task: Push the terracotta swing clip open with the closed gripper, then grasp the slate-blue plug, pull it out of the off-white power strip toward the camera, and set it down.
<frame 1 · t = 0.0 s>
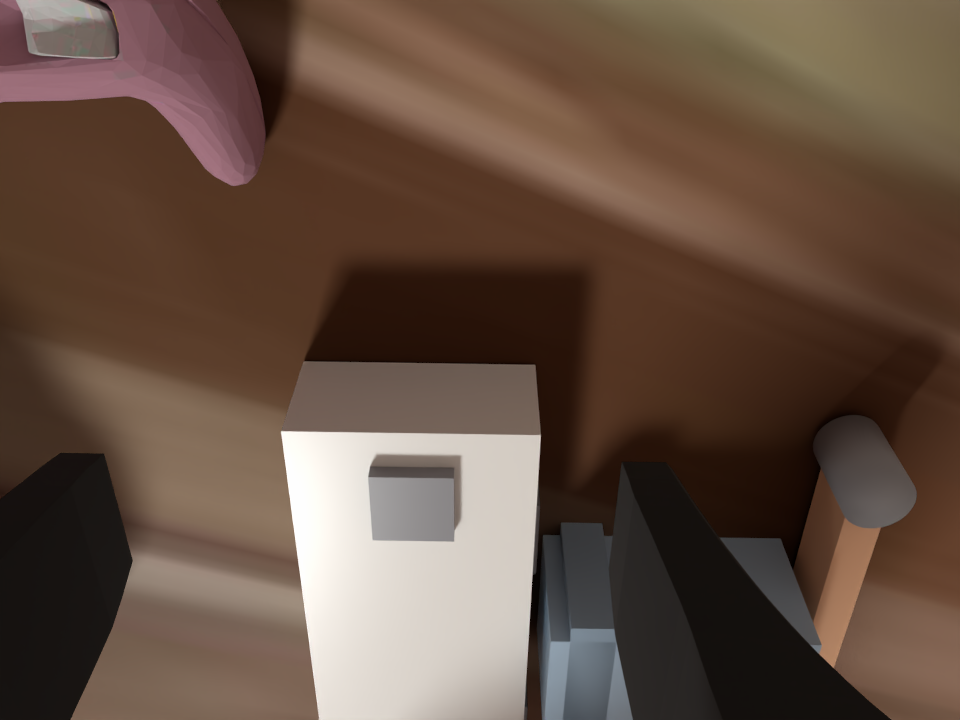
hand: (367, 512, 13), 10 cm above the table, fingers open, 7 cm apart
plug: (653, 583, 28), on the table
retention clip: (820, 606, 26), point 1 cm above the table, hinge at 0.0°
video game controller: (39, 37, 19), on the table
power strip: (425, 582, 28), on the table
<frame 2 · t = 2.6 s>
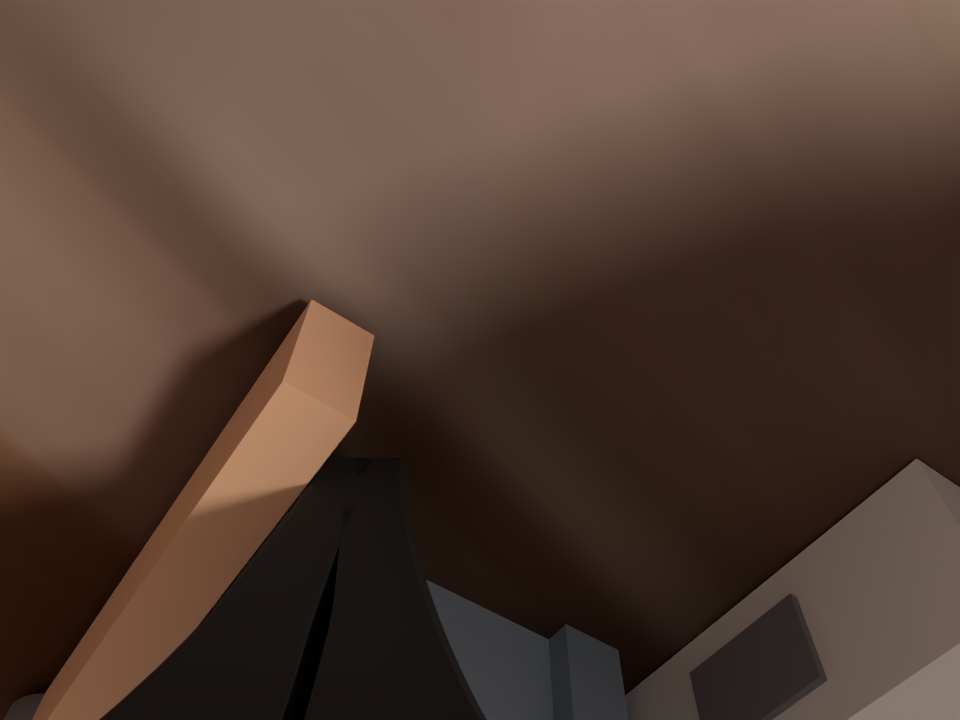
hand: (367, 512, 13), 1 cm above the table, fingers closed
plug: (405, 657, 17), on the table, touching gripper
retention clip: (141, 626, 14), point 1 cm above the table, hinge at 0.0°, touching gripper
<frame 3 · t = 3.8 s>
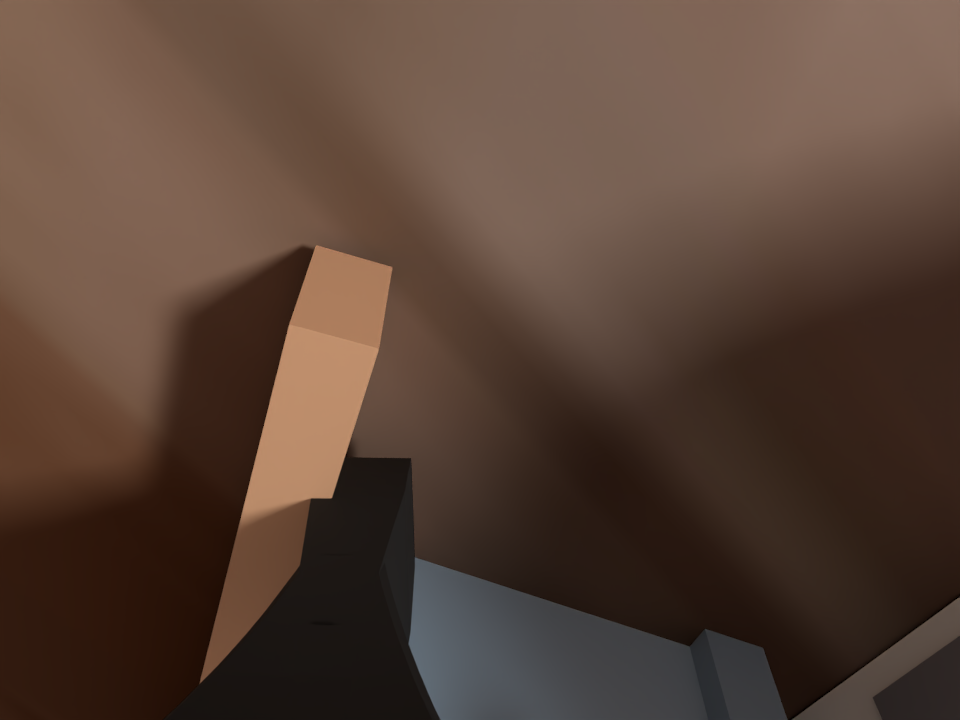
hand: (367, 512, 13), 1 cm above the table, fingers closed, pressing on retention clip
plug: (546, 684, 16), on the table
retention clip: (249, 634, 14), point 1 cm above the table, hinge at 16.6°, touching gripper
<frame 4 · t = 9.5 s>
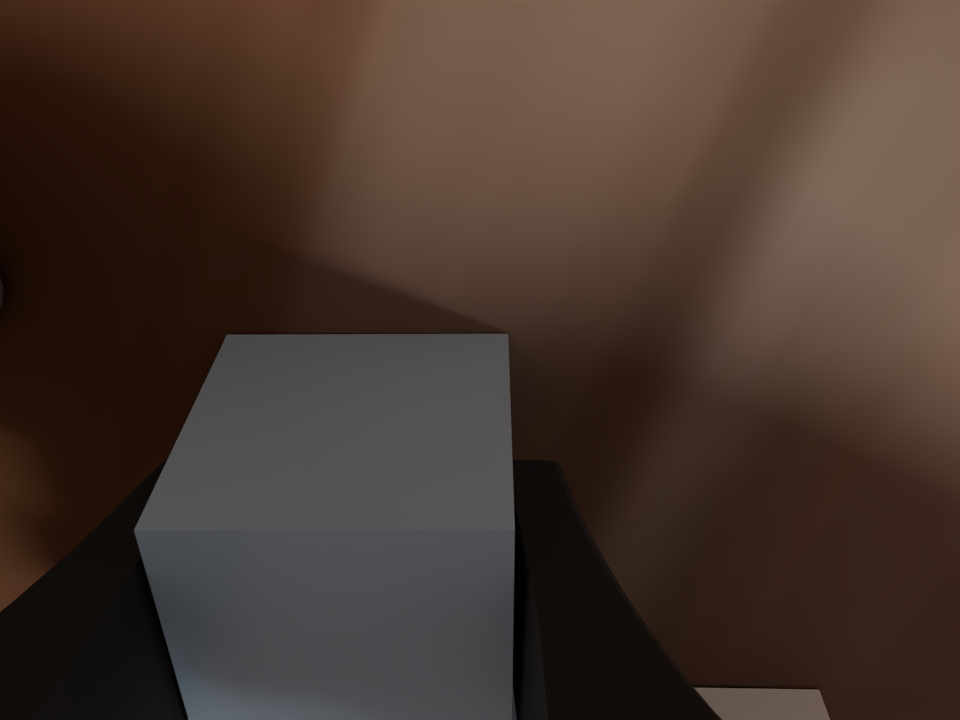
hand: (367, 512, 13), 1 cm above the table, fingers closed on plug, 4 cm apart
plug: (383, 518, 15), on the table, touching gripper
when the fingers open (2 cm above the table, at t = 12.0 s): plug drops 1 cm, on the table.
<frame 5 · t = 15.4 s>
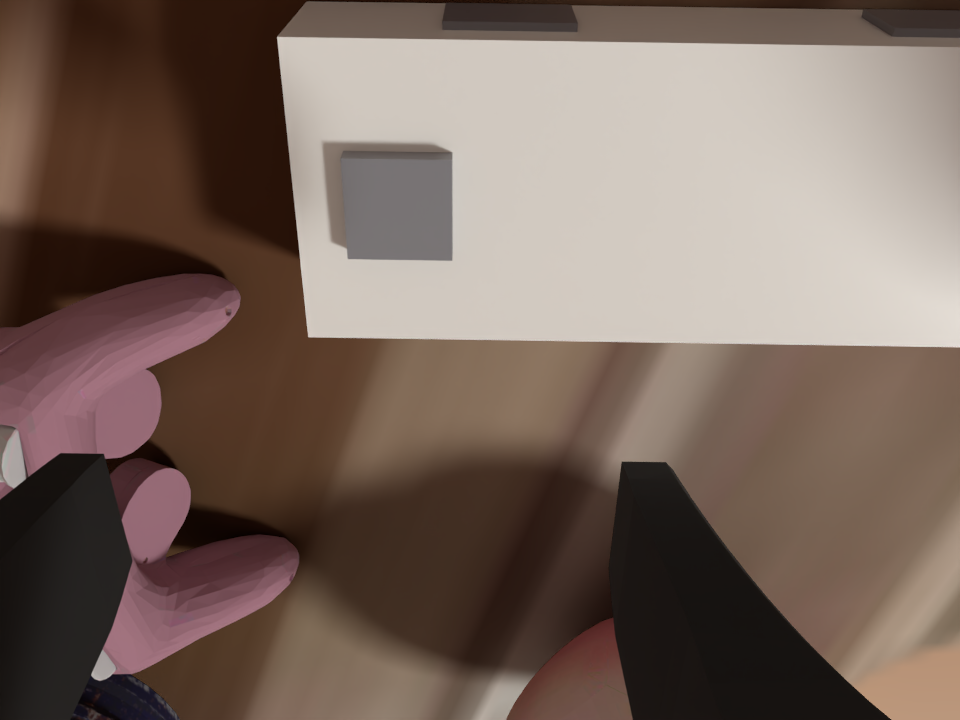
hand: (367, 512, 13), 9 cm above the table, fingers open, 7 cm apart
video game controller: (171, 422, 24), on the table
decorative fruit: (652, 621, 28), on the table
power strip: (687, 152, 20), on the table
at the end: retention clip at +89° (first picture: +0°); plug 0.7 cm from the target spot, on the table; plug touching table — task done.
